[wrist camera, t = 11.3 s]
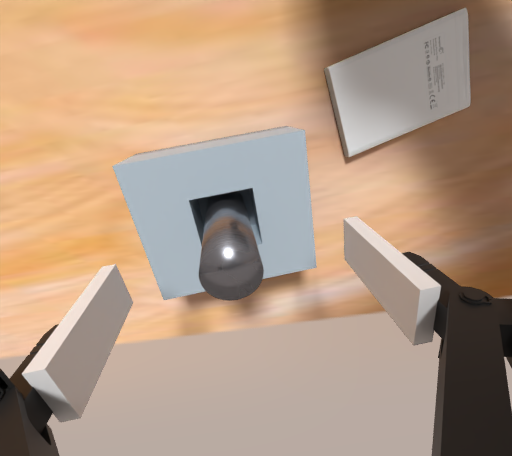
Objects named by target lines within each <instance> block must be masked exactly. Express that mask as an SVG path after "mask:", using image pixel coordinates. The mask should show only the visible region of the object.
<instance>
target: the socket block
mask: <svg viewBox="0 0 512 456" xmlns="http://www.w3.org/2000/svg"><path fill="white" fill-rule="evenodd" d="M112 167H113V169H114V172H115V174H116V177H117V180H118V182H119V185H120V187H121V190H122V193H123V195H124V198H125V200H126V203H127V206H128V208H129V211H130V213H131V216H132V219H133V221H134V224H135V226H136V229H137V232H138V234H139V237H140V239H141V242H142V245H143V247H144V250H145V252H146V255H147V258H148V260H149V263H150V265H151V268H152V271H153V273H154V276H155V278H156V281H157V284H158V286H159V289H160V291H161V294H162V297H163V299H164V300H167V299H172V298H177V297H181V296H186V295H191V294H195V293H200V292H205V290H204V288H203V287H202V285H201V283H200V280H199V265H200V257H201V249H202V241H203V233H204V225H205V217H206V209H207V202H208V198H209V196H214V195H219V194H224V193H229V192H234V191H238V192H239V193H240V194H241V195H242V197H243V199H244V202H245V205H246V209H247V212H248V216H249V219H250V223H251V226H252V229H253V233H254V236H255V240H256V243H257V247H258V250H259V254H260V257H261V261H262V264H263V269H264V274H263V279H265V278H270V277H275V276H279V275H284V274H289V273H293V272H298V271H303V270H307V269H312V268H316V256H315V244H314V232H313V220H312V209H311V197H310V185H309V173H308V161H307V149H306V138H305V130H302V129H298V128H293V127H288V126H284V127H279V128H273V129H268V130H262V131H257V132H252V133H246V134H241V135H236V136H230V137H225V138H220V139H214V140H209V141H203V142H198V143H193V144H187V145H182V146H177V147H171V148H166V149H161V150H155V151H150V152H144V153H139V154H135V155H133V156H131V157H129V158H127V159H125V160H123V161H122V162H120V163H118V164H116V165H114V166H112Z"/></svg>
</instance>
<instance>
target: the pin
mask: <svg viewBox="0 0 512 456" xmlns="http://www.w3.org/2000/svg"><path fill="white" fill-rule="evenodd" d="M263 274H264V269H263V264H262V261H261V257H260V254H259V250H258V247H257V243H256V240H255V236H254V233H253V229H252V226H251V223H250V219H249V216H248V212H247V209H246V205H245V202H244V199H243V197H242V195H241V194H240V193H239V192H238V191H234V192H229V193H224V194H219V195H214V196H209V198H208V202H207V209H206V217H205V225H204V233H203V241H202V249H201V257H200V265H199V280H200V283H201V285H202V287H203V288H204V290H205V291H206V292H207V293H209V294H210V295H212V296H213V297H215V298H218V299H222V300H238V299H241V298H244V297H246V296H248V295H250V294H251V293H253V292H254V291H255V290H256V289H257V288H258V287H259V285H260V283H261V281H262V279H263Z"/></svg>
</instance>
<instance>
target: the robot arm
mask: <svg viewBox="0 0 512 456" xmlns="http://www.w3.org/2000/svg"><path fill="white" fill-rule="evenodd" d="M344 255H345V260H346V262H347V263H348V264H349V265H350V267H351V268H352V269H353V270H354V272H355V273H356V274H357V275H358V277H359V278H360V279H361V280H362V282H363V283H364V284H365V285H366V287H367V288H368V289H369V290H370V292H371V293H372V294H373V295H374V297H375V298H376V299H377V300H378V302H379V303H380V304H381V305H382V307H383V308H384V309H385V310H386V312H387V313H388V314H389V315H390V317H391V318H392V319H393V320H394V322H395V323H396V324H397V325H398V327H399V328H400V329H401V330H402V332H403V333H404V334H405V335H406V337H407V338H408V339H409V340H410V342H411V343H412V344H413V345H418V344H423V343H427V342H432V338H433V333H434V331H435V332H436V333H437V334H438V335H439V336H440V337H441V338H442V339H441V345H440V350H439V356H438V358H439V370H438V383H437V395H436V408H435V421H434V433H433V434H434V435H433V446H432V456H512V411H511V404H510V397H509V391H508V383H507V376H506V368H505V361H504V357H507V360H508V362H509V364H510V366H511V368H512V299H497V298H493V297H492V296H490V295H489V294H488V293H486V292H484V291H482V290H479V289H475V288H472V287H461V286H459V285H458V284H457V283H455V282H454V281H453V280H451V279H450V278H449V277H447V276H446V275H445V274H444V273H442V272H441V271H440V270H438V269H436V267H434V266H433V265H432V264H429V262H428V261H426V260H425V259H424V258H422V257H421V256H419V255H416V254H414V253H411V252H406V253H401V252H399V251H398V250H397V249H396V248H394V247H393V246H392V245H391V244H390V243H388V242H387V241H386V240H385V239H383V238H382V237H381V236H380V235H379V234H377V233H376V232H375V231H374V230H373V229H371V228H370V227H369V226H368V225H366V224H365V223H364V222H363V221H362V220H360V219H359V218H358V217H357V216H356V217H351V218H346V219H344ZM132 304H133V301H132V299H131V297H130V294H129V292H128V290H127V288H126V286H125V283H124V281H123V279H122V277H121V275H120V272H119V270H118V268H117V266H116V264H114V265H109V266H104V267H102V268H101V269H100V270H99V272H98V273H97V274H96V276H95V277H94V278H93V280H92V281H91V282H90V284H89V285H88V286H87V288H86V289H85V290H84V292H83V293H82V294H81V296H80V297H79V298H78V300H77V301H76V302H75V304H74V305H73V306H72V308H71V309H70V310H69V312H68V313H67V314H66V316H65V317H64V318H63V320H62V321H61V322H60V324H58V325H55V326H54V327H53V328H51V329H50V330H49V331H48V332H47V333H45V334H44V335H43V337H42V338H41V339H40V341H39V342H38V343H37V344H36V345H37V346H36V347H34V348H33V350H32V351H31V352H30V355H28V356H27V357H26V359H25V360H24V361H23V362H22V364H21V365H20V366H19V368H18V369H17V370H16V371H15V373H14V374H13V375H12V377H11V378H10V379H9V378H8V377H7V376H6V375H5V373H4V372H3V371H2V370H1V369H0V456H59V453H58V450H57V446H56V443H55V440H54V437H53V434H52V430H51V428H50V427H49V426H48V425H47V422H48V420H49V418H50V417H51V415H52V413H53V414H54V415H55V417H56V418H57V419H58V420H59V421H60V422H64V421H69V420H74V419H78V418H81V416H82V414H83V412H84V409H85V407H86V405H87V403H88V401H89V398H90V396H91V394H92V392H93V389H94V387H95V385H96V383H97V381H98V379H99V376H100V374H101V372H102V370H103V368H104V365H105V363H106V361H107V359H108V356H109V355H110V352H111V350H112V348H113V346H114V344H115V341H116V339H117V337H118V335H119V333H120V330H121V328H122V326H123V324H124V322H125V319H126V317H127V315H128V313H129V311H130V308H131V306H132Z"/></svg>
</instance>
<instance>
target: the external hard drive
mask: <svg viewBox="0 0 512 456" xmlns="http://www.w3.org/2000/svg"><path fill="white" fill-rule="evenodd" d="M324 72H325V76H326V80H327V84H328V88H329V93H330V97H331V101H332V105H333V109H334V113H335V117H336V121H337V126H338V130H339V134H340V138H341V142H342V146H343V151H344V155H345V156H346V157H351V156H353V155H356V154H358V153H361V152H363V151H365V150H368V149H370V148H372V147H375V146H377V145H379V144H382V143H384V142H387V141H389V140H391V139H394V138H396V137H398V136H401V135H403V134H405V133H408V132H410V131H413V130H415V129H417V128H420V127H422V126H424V125H427V124H429V123H432V122H434V121H436V120H439V119H441V118H443V117H446V116H448V115H450V114H453V113H455V112H457V111H460V110H462V109H465V108H467V107H469V106H470V103H471V94H470V66H469V27H468V12H467V9H466V8H463V9H461V10H458V11H456V12H453V13H451V14H449V15H446V16H444V17H442V18H439V19H437V20H435V21H432V22H430V23H428V24H425V25H423V26H421V27H418V28H416V29H414V30H411V31H409V32H407V33H404V34H402V35H400V36H398V37H395V38H393V39H391V40H388V41H386V42H384V43H382V44H379V45H377V46H375V47H372V48H370V49H368V50H365V51H363V52H361V53H358V54H356V55H354V56H352V57H349V58H347V59H345V60H342V61H340V62H338V63H336V64H333V65H331V66H329V67H326V68H324Z"/></svg>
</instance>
